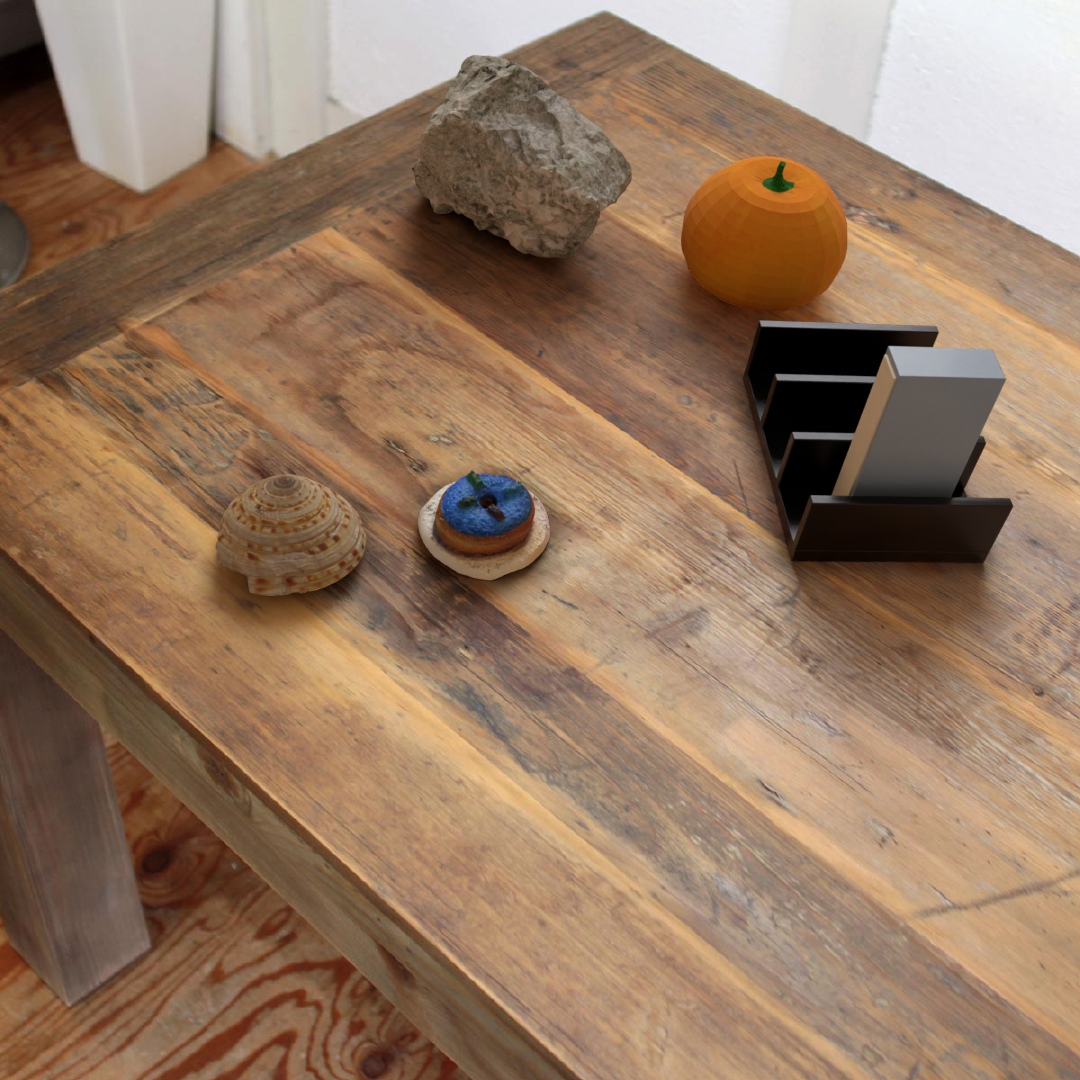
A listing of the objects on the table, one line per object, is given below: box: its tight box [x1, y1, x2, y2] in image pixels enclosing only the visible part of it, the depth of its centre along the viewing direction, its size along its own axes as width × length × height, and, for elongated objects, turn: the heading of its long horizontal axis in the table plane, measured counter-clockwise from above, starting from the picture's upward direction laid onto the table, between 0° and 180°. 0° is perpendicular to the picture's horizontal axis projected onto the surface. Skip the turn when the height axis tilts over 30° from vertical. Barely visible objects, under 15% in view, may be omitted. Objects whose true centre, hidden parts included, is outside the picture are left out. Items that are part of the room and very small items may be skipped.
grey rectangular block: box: [832, 346, 1007, 497], centre depth 77 cm, size 2×6×12 cm, turn 94°
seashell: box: [215, 473, 368, 597], centre depth 75 cm, size 8×6×8 cm
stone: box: [411, 54, 633, 259], centre depth 96 cm, size 10×12×15 cm
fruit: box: [680, 155, 848, 313], centre depth 94 cm, size 12×12×10 cm
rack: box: [742, 319, 1014, 564], centre depth 83 cm, size 12×16×5 cm
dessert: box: [417, 469, 551, 581], centre depth 78 cm, size 8×7×6 cm
